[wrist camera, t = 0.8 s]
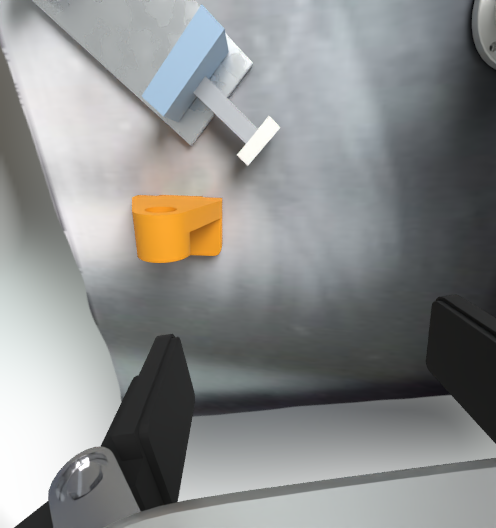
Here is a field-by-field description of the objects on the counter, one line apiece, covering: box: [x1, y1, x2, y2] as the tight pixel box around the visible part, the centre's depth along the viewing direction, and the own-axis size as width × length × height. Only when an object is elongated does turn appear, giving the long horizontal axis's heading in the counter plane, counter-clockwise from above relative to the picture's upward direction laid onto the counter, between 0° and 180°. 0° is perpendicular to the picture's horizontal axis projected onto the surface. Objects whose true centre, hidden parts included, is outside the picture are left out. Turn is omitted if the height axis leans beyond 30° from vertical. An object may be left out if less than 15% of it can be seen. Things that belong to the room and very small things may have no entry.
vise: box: [32, 0, 253, 145], centre depth 26 cm, size 11×24×7 cm, turn 48°
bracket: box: [132, 195, 222, 263], centre depth 32 cm, size 11×7×12 cm, turn 88°
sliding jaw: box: [142, 4, 280, 165], centre depth 29 cm, size 9×12×6 cm
